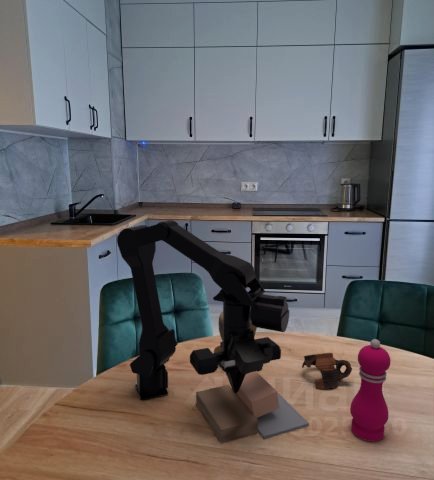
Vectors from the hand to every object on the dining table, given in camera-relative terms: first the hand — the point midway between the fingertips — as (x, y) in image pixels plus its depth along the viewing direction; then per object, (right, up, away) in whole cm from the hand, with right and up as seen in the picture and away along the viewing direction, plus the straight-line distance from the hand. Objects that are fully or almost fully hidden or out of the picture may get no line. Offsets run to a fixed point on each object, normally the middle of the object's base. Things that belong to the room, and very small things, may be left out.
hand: (235, 391), depth 85 cm
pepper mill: (+27, -7, -3) cm, 28 cm away
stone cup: (+3, -1, +26) cm, 26 cm away
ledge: (-2, -6, 0) cm, 6 cm away
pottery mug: (+24, -3, +16) cm, 29 cm away
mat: (+7, -5, +4) cm, 9 cm away
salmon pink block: (+2, -2, +1) cm, 3 cm away
